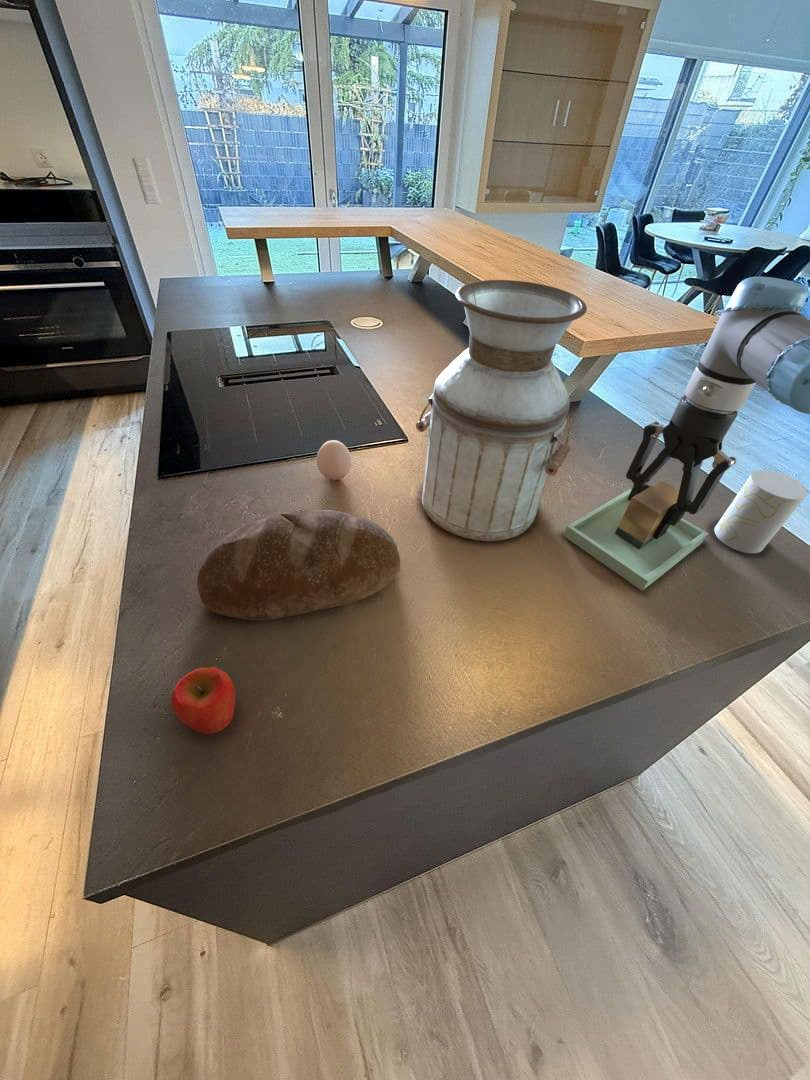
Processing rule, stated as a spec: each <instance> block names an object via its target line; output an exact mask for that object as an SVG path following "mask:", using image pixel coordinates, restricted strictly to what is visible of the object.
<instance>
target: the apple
mask: <svg viewBox="0 0 810 1080" xmlns="http://www.w3.org/2000/svg"><path fill="white" fill-rule="evenodd" d="M170 698H171V699H170V700H171V706H172V709H173V711H174V714H175V715H176V716H177V718H178V719H179V720H180V721H181V722H182V723H184V725H186V726H188V727H189V728H190V729H191V730H193V731H195V732H197V733H199V734H202V735H213V734H216V733H219V732H221V731H222V730H224V729H225V728H226V727H227V726H228V725H229V724H231V721H232V719H233V717H234V714H235V713H234V712H235V708H236V689H235V686H234V682H233V680H232V678H231V677H230V676H229V674H228V673H227V672H226V671H224V670H222V669H220V668H217V667H214V666H210V667H197V668H195V669H193V670H191V671H190V672H187V674H186V675H184V676H183V677H182V678H181V679H179V681H178V682H177V683H176V685H175V686H174V688H173V690H172V691H171V697H170Z"/></svg>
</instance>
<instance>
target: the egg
mask: <svg viewBox="0 0 810 1080" xmlns="http://www.w3.org/2000/svg"><path fill="white" fill-rule="evenodd" d="M352 461H353V459H352V455H351V452H350V450H349V448H348V447H347V446H346V445H345V444H344V443H342V441H340V440H336V439H335V440H334V439H333V440H332V439H330V440H328V441H326V442H324V443H323V444H322V445H321V447H320V448H319V450H318V451H317V454H316V466H317V469H318V471H319V472H320V474H321V475H322V476H323V477H324V478H327V479H328V480H333V481H337V480H340V479H343V478H345V477H346V476H347V475H348V474H349V472H350V471H351V469H352V463H353V462H352Z"/></svg>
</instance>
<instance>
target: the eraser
mask: <svg viewBox="0 0 810 1080" xmlns="http://www.w3.org/2000/svg"><path fill="white" fill-rule="evenodd" d="M650 486H651V487H649V488H647V489H646V490H644V491H642V492H641V493H639V494H637V495H636V496H634V497H632V499H631V501H630V503H629V505H628V507H627V509H626V511H625V513H624V515H623V517H622V519H621V521H620V523H619V525H618V527H617V530H616V532H615V534H617V535H618V536H620V537H621V538H623V539H624V540H626V541H627V542H629V543H631V544H632V545H634V546H635V547H637V548H638V549H641V548H642V547H644V546H645V545H647V544H648V543H649V542H651V541H652V540H654V539H655V538H654V537H653V536H654V534H655V532H656V530H657V529H658V527H659V525H660V523H661V522H662V520H663V518H664V516H665V515H666V513H667V511H668V509H669V508H670V507H671V506H672V505H674V504H675V503H677V498H678V494H679V490H680V488H677V487H675V486H674V485H672V484H669V483H667V482H666V481H664V480H662V479H661V480H658V481H657V482H655V483H654V484H652V485H650ZM668 528H669V527H668ZM667 530H668V529H667Z"/></svg>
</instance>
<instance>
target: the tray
mask: <svg viewBox="0 0 810 1080" xmlns="http://www.w3.org/2000/svg"><path fill="white" fill-rule="evenodd" d="M631 490H632V488H629V489H628V490H625V491H624V492H622V493H621V494H618V495H617V496H615V497H614V498H613V499H610V500H608V501H607V502H606V503H604V504H602V505H600V506H598V507H597V508H595V509H594V510H592V511H590V512H588V513H587V514H585V515H583V516H582V517H581V518H578V519H577V520H575V521H574V522H572V523H570V524H569V525H567V526H566V529H565V530H564V533H563V537H564V538H566V539H567V540H569V541H570V542H571V543H573V544H574V545H575V546H577V547H579V548H580V549H582V550H583V551H584V552H586V553H587V554H588V555H590V556H591V557H593V558H594V559H596V561H598V562H600V563H601V564H603V565H604V566H606V567H607V568H609V569H610V570H612V571H613V572H614V573H616V574H617V575H618V576H620V577H622V578H623V579H624V580H626V581H627V582H629V583H630V584H632V586H634V587H636V588H638V589H639V590H640V591H642V592H643V591H644V590H646V589H647V588H648V587H649V586H650V585H652V584H653V583H654V582H655V581H657V580H658V579H659V578H661V576H663V575H664V574H665V573H667V572H668V571H669V570H671V569H672V568H673V567H674V566H675V565H677V564H678V563H679V562H680V561H682V560H683V559H684V558H686V557H687V556H688V555H689V554H690V553H692V552H693V551H694V550H696V549H697V548H698V547H699V546H700V545H702V544H703V543H704V542H705V540H706V539H707V537H708V536H709V532H708V531H705V530H704V529H701V528H700V527H699V526H696V525H695V524H693V523H691V522H690V521H687V520H686V519H684V518H683V517H682V518H681V520H680V521H679V522H678V523H677V524H675V525H674V526H672V525H670V526H669V528H668V530H667V531H666V533H665V534H663V535H662V536H661V537H659V538H658V539H654V540H652V541H651V542H649V543H648V544H647V545H645V546H644V547H642V548H641V549H638V548H637V547H635V546H634V545H632V544H631V543H629V542H627V541H626V540H624V539H623V538H621V537H620V536H618V535H617V534H615V532H616V530H617V527H618V525H619V523H620V521H621V519H622V517H623V515H624V513H625V511H626V509H627V507H628V505H629V503H630V501H629V500H628V496H629V495H630V492H631Z"/></svg>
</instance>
